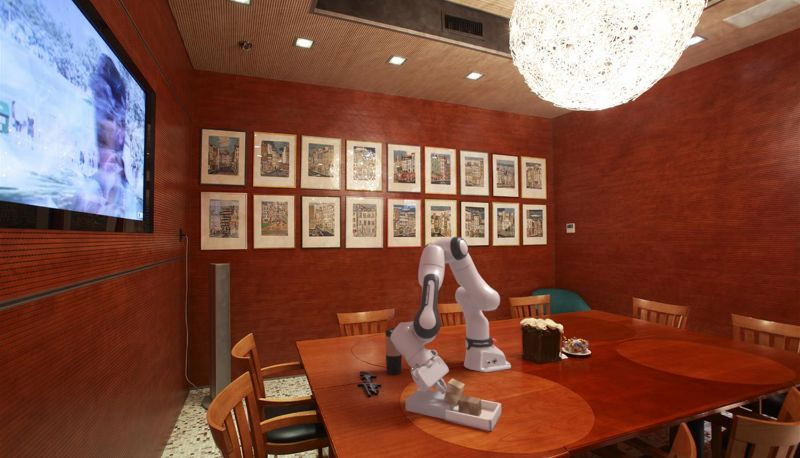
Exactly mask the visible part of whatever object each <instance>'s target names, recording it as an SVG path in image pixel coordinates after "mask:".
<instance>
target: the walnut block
mask: <svg viewBox="0 0 800 458" xmlns="http://www.w3.org/2000/svg"><path fill="white" fill-rule="evenodd" d="M481 400H482V398H481V397H480V398H479V397H473V396H468V395H464V394H462V396H461V397H460V399H459V400H458V410H459V413H464V414H469V415H473V416H478V417H479V416H480V415H481V413H482V412H481Z"/></svg>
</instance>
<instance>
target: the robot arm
mask: <svg viewBox="0 0 800 458" xmlns="http://www.w3.org/2000/svg"><path fill="white" fill-rule="evenodd" d="M446 264H448V265H449V268H450V270H451V271H452V275H453V276H454V279H455V281H456V283H457V284H458V285H459V287H458V288H457V289H456V291H455V294H454V297H455V301H456V303H457V304H458V305H459V307H460V308H461V310H462V313H463V315H464V320H465V331H466V333H465V335H466V336H465V342H464V343H465V348H466V351H465V358H464V363H463V366H464V367H465V368H466V369H468V370H471V371H475V372H476V371H477V372H481V373H490V372H498V371H503V370H504V371H505V370H509V369H511V368H512V365H511V363H510V362H509V361H508V360H506V355H505V354H504V352H503V351H502V350H501V349H499V347H497V346H496V345H495V344H496V343H497V339H495V338H492V337H491V336H490V323H489V321H488V318H487V317H486V316H485V315H484V313H483V311H484V312H489V311H495V310H497V308H498V307H499V305H500V303H501V296H500V295H499V293H498V292H497V291H496V290H495V289H493V288H492V287H490V285H488V284H487V282H486V281H485V280H484V278H482V276H481V275H480V274H479V272H478V270H477V268H476V266H475V264H474V262H473V259H472V257H471V255H470V253H469V246H468V243H467V241H466V240H465V239H464V238H462V237H461V236H453V237H449V238H443V239H439V240H436V241H433V242H430V243H429V242H428V243H427V244H425V245H424V246H423V249H422V252H421V256H420V261H419V264H418V265H419V266H418V272H417V273H418V274H417V275H418V277H417V278H418V284H419V285H420V286H421V300H420V307H419V310H418V311H417V313H416V314H415V316H414V318H413V321H407V322H406V321H405V322H402V321H401V322H398V323H397V325H395V327H393V328H394V329H393V331H392V332H391V341H392V343H393V344H394V346H395V347H396V349H397V350H398V351H399V353H400V354H401V355H402V357H404V358H405V361H406V363H407V364H408V366H409V367H410V374H411V376H412V380H413V382H414V383H415V384H416V386H417V388H418V389H420V390H421V391H422V392H423V393H425V392H426V391H427V390H428V389H429V390H431V388H432V387H433V388H434V389H435V390H436V391H439V392H441V393H442V394H444V393H446V389H447V383H446V382H445V380H444V379H443V378H444V377H445V376H446V375H447V374H448V373H449V372H450V370H449V367H448V365H447V364H446V362H444V360H443V359H442V358H441V357H440V356H439V355H438V352H437V351H436V350H435V349H427V348H426V347H425V345H427V344H429V343H431V342H433V340H434V339H435V338H436V336H437V334H438V333H439V331H440V330H441V319H440V315H439V313H438V299H439V290H440V289H441V287H442V284H443V281H444V277H445V270H446V269H445V268H446Z"/></svg>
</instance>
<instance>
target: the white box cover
mask: <svg viewBox="0 0 800 458" xmlns="http://www.w3.org/2000/svg"><path fill="white" fill-rule="evenodd" d="M444 397H445V393H444V394H442V393H441V392H440V391H439V390H433V389H428V390H427V391H426V392H425V393H423V392H422V391H421V390H420V389H419V388H418V389H416V390H415V391H414V392H412V394H410V395H409V396H408V397H407V398H406V399H405V411H407V412H410V413H411V412H412V413H416V414H421V415H425V416H429V417H434V418H438V419H442V420H446V419H445V410H450V411H452V410H453V409H454V408H455V406H453V405H451V404H449V403H447V402H445V401H444Z"/></svg>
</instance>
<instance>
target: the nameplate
mask: <svg viewBox="0 0 800 458" xmlns="http://www.w3.org/2000/svg"><path fill="white" fill-rule="evenodd" d="M359 376H360V377H361V381H363V382H362V383H357V387H358V388H361V387H362V388H363V390H364V392H365V393H366V396H367V398H372V395H374V396H376V397H377V396H379V393H380V390H379V388H382V384H381V383H378V382H377V383H376V382H373V379H374V380H377V375H375V374H373V372H369V371H365V370H364V371H363V370H362V371H359Z"/></svg>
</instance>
